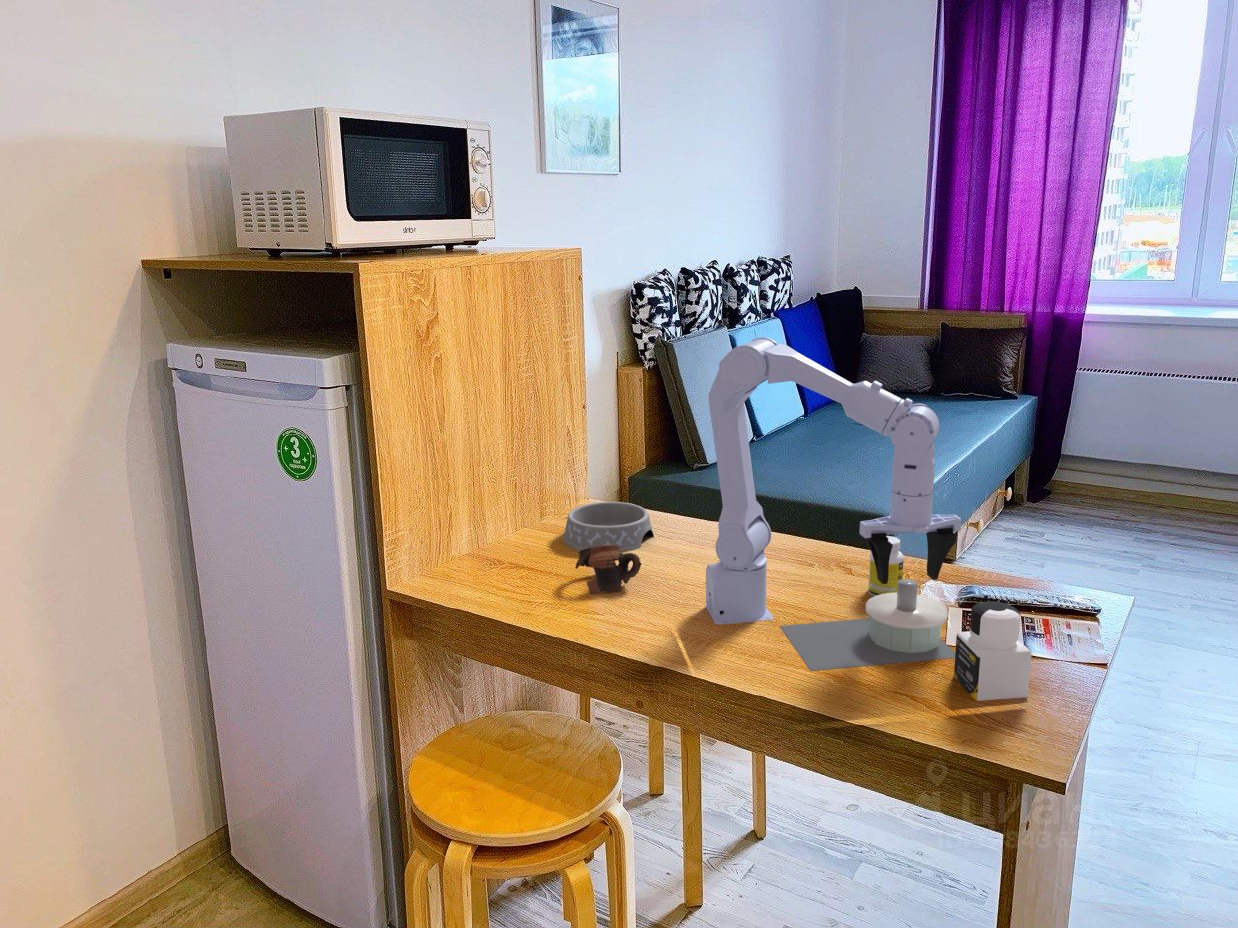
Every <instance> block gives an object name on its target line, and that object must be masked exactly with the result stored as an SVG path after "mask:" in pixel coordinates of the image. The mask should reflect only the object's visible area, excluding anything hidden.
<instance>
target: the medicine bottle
mask: <svg viewBox="0 0 1238 928" xmlns="http://www.w3.org/2000/svg"><path fill="white" fill-rule="evenodd" d="M969 620H970V623H969V631H958V632H957V633H956V637H955V641H956V642H955V651H954V652H955V658H954V665H953V667H954V668H953V677H954V679H956V680H957V681H958V683H959V684H960V685H961V686H962V687H963V688H964V690H965V691H966V692H967V693H968V694H969V695H970V696H971V697H972V699H974V701H977V702H979V701H992V700H1006V699H1008V700H1009V699H1022V698H1028V695H1029V685H1030V675H1031V663H1032V662H1031V661H1032V651H1031V650H1030V649H1029V648H1028V647H1027V646H1025V645H1024V643H1022V642H1021V641H1020V640H1019V637H1020V627H1021V613H1020V612H1019V610H1018V609H1017V608H1016V607H1014V606H1012V605H1009V604H1007V603H1004V602H1000V601H994V600H993V601H990V600H989V601H981V602H979V603H976V604H975V605H973V606H972V607H971V609H970V619H969Z"/></svg>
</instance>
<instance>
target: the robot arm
mask: <svg viewBox="0 0 1238 928" xmlns="http://www.w3.org/2000/svg"><path fill="white" fill-rule="evenodd" d="M766 381H767V384H777V383H786V382H792V383H793V382H794V383H796V384H798V385H799V386H802V387H804V388H807V389H808V390H810V391H813V392H815V393H817V394H819V395H821V396H823V397H826V398H828V399H830V400H832V401H835V402H837V403H839V404H841V406H842V408H843V410H844V413H845V416H846V417H847V418H850V419H852V420H853V421H856V422H857V423H859V424H861V425H863V426H865V427H867V428H868V429H871V430H873V431H874V432H876V433H878V434H880V435H883V436H884V437H889V438H890V441H891V443H892V444H893V446H894V454H893V456H894V457H893V460H892V474H891V491H890V492H891V493H890V495H891V496H890V515H887V516H883V517H878V518H874V519H869V520H862V521H859V535H860V536H861V537H863V538H864V540H865V541H866V543H867V546H868V548H869V550H870V554H871V553H872V556H873V559H874V562H875V566H876V571H877V578H878V580H879V581H880V582H881V583H882V584H887V583H888V576H889V559H890V554H891V550H892V546H893V545H892V544H891V543H890V542H889V541H888V538H887V536H890V535H891V536H892V535H901V534H914V533H915V534H926V540H927V542H926V543H927V544H926V545H927V557H926V560H927V561H926V575H927V577H928V578H930V579H931V580H932V581H937V580H938V579H939V575H940V572H941V569H942V567H943V565H944V562H945V559H946V557H947V556H948V554H949V552H950V551H951V549H952V548H953V547H954V545H955V544H956V543H957V537H958V536H957V534H956V533H954V532H960V531H961V529H962V528H961V526H962V518H961V517H959V516H958V515H957V514H935V513H934V514H933V501H934V499H933V498H934V482H935V468H936V467H935V466H936V462H935V455H936V448H935V447H936V446H935V444H936V443H935V442H934V440H935V438H936V437H937V435H938V433H939V430H940V420H939V417H938V415H937V414H936V412H935V411H934V410H933V409H932V408H931V407H929V406H928V405H927V404H924V403H914V401H913V400H912V399H910V398H909V397H907V398H906V399H903V398H901V397H900V396H897V395H895V394H893V393H892V392H889V391H887V390H886V389H883V384H884V383H881V382H879V381H877V380H874V381H873V382H872V383H871V382H869V381H868V380H863V381H860V382H856V383H852V382H851V381H849V380H847V378H844V377H842V376H840V375H838V374H837V373H835V372H833V371H831V370H829V369H828V368H826V367H824V366H822V365H821V364H819V363H818V362H815V361H814V360H812V359H811V358H808V357H806V356H805V355H803V354H801V353H800V352H798V351H796V350H795V349H793V348H792V347H790V346H789V345H786V344H783V343H777V342H776V341H775V340H773V338H770V337H764V336H762V337H761V336H760V337H757V338H755V339H752V340H751V341H749V342H748V343H745V344H741V345H738V346H736V347H734V348H732V349H731V350H730V351H729V352H727V354H726V355H725V356H723V358H722V359H721V360H720V361H719V362H718V371H717V373H716V376H715V378H714V380H713V383H712V385H711V388H710V390H709V392H708V406H709V413H710V421H711V429H712V434H713V435H712V436H713V443H714V444H713V445H714V452H715V456H716V457H715V458H716V459H715V460H716V464H717V465H716V466H717V473H718V481H719V488H720V494H721V501H722V502H721V503H722V509H721V512H720V513H721V514H720V516H719V519H718V524H717V527H718V536H717V540H716V542H715V553H716V556H717V558H718V559H719V561H717V562H716V563H711V564H708V565H706V569H705V604H704V607H705V608H706V610H707V612H708V613H709V615H710V617H711V619H712V620H713V623H714V624H715V625H727V624H738V623H751V622H761V621H772V620H774V619H775V617H773V614H772V613H771V612H770V611H769V609H768V608H767V563H768V561H767V556H766V554H765V549H766V548H767V547H768V546H769V544H770V542H771V539H772V530H771V527H770V524H769V522H768V521H767V520H766V518H765V516H764V510H763V507H762V506H761V504H760V503H759V502H758V500H757V497H756V495H757V494H756V489H755V481H754V473H753V467H752V465H753V464H752V458H751V450H750V442H749V441H750V440H749V433H748V426H747V416H746V411H745V402H746V401H747V399H748V398H749V397H750V396H752V394H753V392H754V391H756V389H758V386H760V385H761V384H762V383H764V382H766Z"/></svg>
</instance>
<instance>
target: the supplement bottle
mask: <svg viewBox="0 0 1238 928" xmlns="http://www.w3.org/2000/svg"><path fill="white" fill-rule="evenodd" d="M887 538H888V541H889V542H890V543H891V544H892V545H893V546H892V550H891V554H890V559H889V576H888V583H887V584H882V583H881V582H880V581H879V580H878V578H877V571H876V566H875V562H874V559H873V556H872V553H871V552H870V553H869V554H870V555H869V567H868V568H869V570H868V589H867V591H868V594H870V595H871V596H873V597H874V596H877V595H880V594H885V593H897V588H898V581H899V580H902V579H904V578H903V574H904V559H905V557H904V554H903V553H902V552H901V550H900V549H901V540H900V538H899V537H898V538H897V537H896V536H892V535H891V536H890V535H887Z"/></svg>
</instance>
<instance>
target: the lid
mask: <svg viewBox="0 0 1238 928" xmlns="http://www.w3.org/2000/svg"><path fill="white" fill-rule="evenodd" d="M918 583H919V582H917V581H916V580H914V579H907V578H905V579H904V578H902V580H899V581H898V588H897V593H885V594H880V595H877V596H873V597H870V598H869V599H868V600H867V601H866V604H865V613H866V614H867V616H868V617H869V618H871V619H873V620H874V621H876V622H878V623H880V624H883V625H886V626H889V627H894V628H899V629H907V630H923V629H930V628H934V627H938V626H940V625H941V626H942V625H943V624H945V623H946V622H947V619H948V615H949V614H948V608H947V607H946V606H945V604H944V603H942V602H941V601H938V600H937V599H935V598H932V597H929V596H925V595H922V594H918Z"/></svg>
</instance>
